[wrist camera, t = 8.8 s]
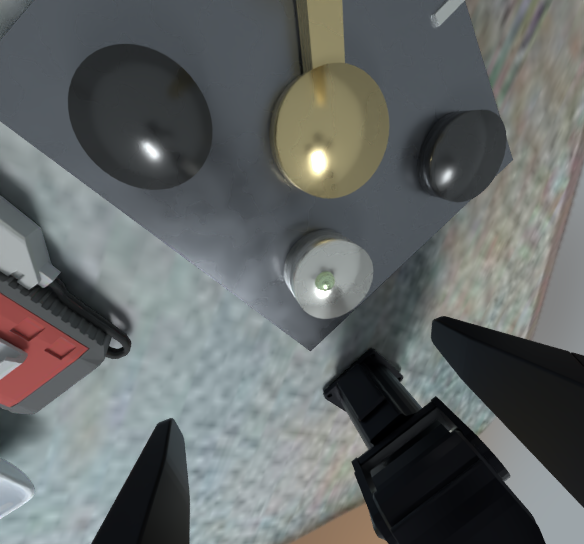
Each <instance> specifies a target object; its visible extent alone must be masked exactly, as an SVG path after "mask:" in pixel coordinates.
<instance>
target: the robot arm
mask: <svg viewBox="0 0 584 544" xmlns="http://www.w3.org/2000/svg"><path fill="white" fill-rule="evenodd" d="M431 339H432V342H433V344H434V345H435V346H436V348H437V349H438V350H439V352H440V353H441V354H442V355H443V357H444V358H445V359H446V360H447V362H448V363H449V364H450V365H451V367H452V368H453V369H454V371H455V372H456V373H457V374H458V375H459V377H460V378H461V379H462V380H463V381H464V382H465V383H466V385H467V386H468V387H469V388H470V389H471V390H472V391H473V392H474V393H475V394H476V395H477V396H478V397H479V398H480V399H481V400H482V401H483V402H484V404H485V405H486V406H487V407H488V408H489V409H490V410H491V411H492V412H493V413H494V414H495V415H496V416H497V417H498V418H499V419H500V420H501V421H502V422H503V423H504V425H505V426H506V427H507V428H508V429H509V430H510V431H511V432H512V433H513V434H514V435H515V436H516V437H517V438H518V439H519V440H520V441H521V442H522V443H523V444H524V446H525V447H527V449H528V450H529V451H530V452H531V453H532V454H533V455H534V456H535V457H536V458H537V459H538V460H539V461H540V462H541V463H542V464H543V466H544V467H545V468H546V469H547V470H548V471H549V472H550V473H551V474H552V475H553V476H554V477H555V478H556V479H557V480H558V481H559V482H560V483H561V484H562V485H563V486H564V487H565V489H566V490H567V491H568V492H569V493H570V494H571V495H572V496H573V497H574V498H575V499H576V500H577V501H578V502H579V503H580V504H581V505H582V506H583V507H584V356H583V355H580V354H576V353H570V352H569V351H566V350H562V349H558V348H555V347H551V346H548V345H544V344H541V343H537V342H534V341H530V340H527V339H523V338H520V337H516V336H513V335H509V334H506V333H502V332H499V331H495V330H492V329H488V328H485V327H481V326H478V325H474V324H471V323H467V322H464V321H460V320H457V319H453V318H450V317H446V316H442V317H439V318H436V319H434V320H433V321H432V331H431ZM402 379H403V376H402V375H401V373H400V372H398V371H397V370H396V369H395V368H394V367H393V366H392V365H391V364H390V363H389V362H388V361H387V360H385V359H384V358H383V357H382V356H381V355H380V354H379V353H378V352H377V351H376V350H375V349H370V350H368V351H367V352H366V353H365V354H364V355H363V356H362V357H361V358H359V359H358V360H357V361H356V362H355V363H354V364H353V365H352V366H351V367H350V368H349V369H348V370H347V371H345V372H344V373H343V374H342V375H341V376H340V377H339V378H338V379H337V380H336V381H335V382H334V383H333V384H331V385H330V386H329V387H328V388H327V389H326V390H325V391H324V393H323V395H324V397H325V399H327V400H328V401H330V402H331V403H333V404H335V405H336V406H338V407H339V408H341V409H343V410H344V411H346V412H347V413H348V415H349V417H350V419H351V420H352V422H353V424H354V426H355V427H356V429H357V431H358V432H359V434H360V436H361V438H362V439H363V441H364V443H365V445H366V446H367V448H368V451H366V452H365V453H364V454H362V455H361V456H360V457H359V458H355V459H354V460H353V461H351V462H352V465H353V467H354V470H355V472H354V473H355V476H356V479H357V481H358V484H359V486H360V489H361V491H362V494H363V497H364V499H365V502H366V504H367V507H368V509H369V513H370V517H371V520H372V524H373V528H374V530H375V533H376V534H377V536H378V537H379V538H381V539H384V540H386V541H387V542H388V544H546V543H545V541H544V538H543V536H542V533H541V531H540V529H539V527H538V525H537V524H536V522H535V519H534V517H533V516H532V514H531V513H530V512H529V510H528V509H527V508H526V507H525V506H524V505H523V503H522V502H521V501H520V500H519V499H518V498H517V497H516V495H515V494H514V493H513V492H512V491H511V489H510V488H509V487H508V486H507V485H506V484H505V482H504V481H506V480H507V479H508V478H510V474H509V472H508V471H507V470H506V468H505V467H504V466H503V465H502V463H501V462H500V461H499V460H498V458H497V457H496V456H495V455H494V454H493V453H492V452H491V451H490V449H489V448H488V447H487V446H486V445H485V444H484V443H483V442H482V441H481V440H480V439H479V437H478V436H477V435H476V434H475V433H474V432H473V431H472V430H471V429H470V428H469V427H467V426H466V425H465V424H464V423H463V422H462V421H461V420H460V419H459V418H458V417H457V416H456V415H455V414H454V413H453V412H452V411H451V410H450V409H449V408H448V407H447V406H446V405H445V404H444V403H443V402H442V401H441V400H439V399H438V398H437V397H436V396H435V397H434V398H433V399H431V402H430V403H428V404H427V405H426V406H424V407H423V408H422V407H421V406H420V405H419V404H418V403H417V401H416V400H415V399H414V398H413V397H412V396H411V394H410V393H409V392H408V391H407V390H406V389H405V387H404V386H403V385H402V384H401V383H400V382H401V381H402ZM450 430H452V432H451V433H450V432H449V431H450ZM189 531H190V496H189V484H188V473H187V463H186V453H185V443H184V438H183V435H182V433H181V431H180V429H179V427H178V425H177V424H176V422H175V420H174V419H173V418H170V419H167V420H164V421H162V422H159V423H158V424H157V426H156V427H155V429H154V431H153V433H152V434H151V436H150V438H149V440H148V442H147V444H146V445H145V447H144V449H143V451H142V453H141V454H140V456H139V458H138V460H137V462H136V464H135V465H134V467H133V469H132V471H131V473H130V474H129V476H128V478H127V480H126V482H125V483H124V485H123V487H122V489H121V491H120V493H119V494H118V496H117V498H116V500H115V502H114V503H113V505H112V507H111V509H110V511H109V513H108V514H107V516H106V518H105V520H104V522H103V523H102V525H101V527H100V529H99V531H98V532H97V534H96V536H95V538H94V540H93V542H92V543H91V544H189Z"/></svg>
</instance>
